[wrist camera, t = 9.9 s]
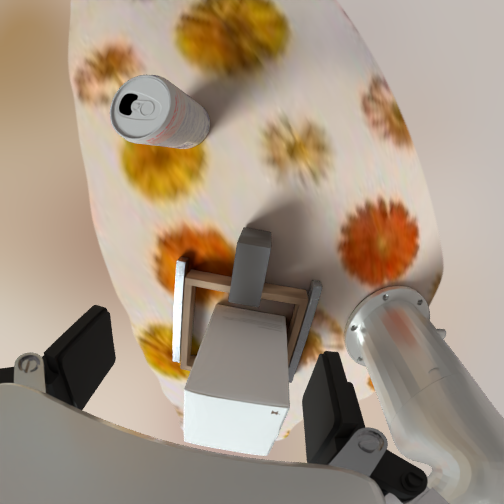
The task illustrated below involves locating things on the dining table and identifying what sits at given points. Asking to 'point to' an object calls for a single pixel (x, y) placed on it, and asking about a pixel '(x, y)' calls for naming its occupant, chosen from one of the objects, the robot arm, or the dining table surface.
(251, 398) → the supplement box
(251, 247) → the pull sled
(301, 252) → the dining table surface
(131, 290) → the dining table surface
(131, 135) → the energy drink
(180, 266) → the lane rails
